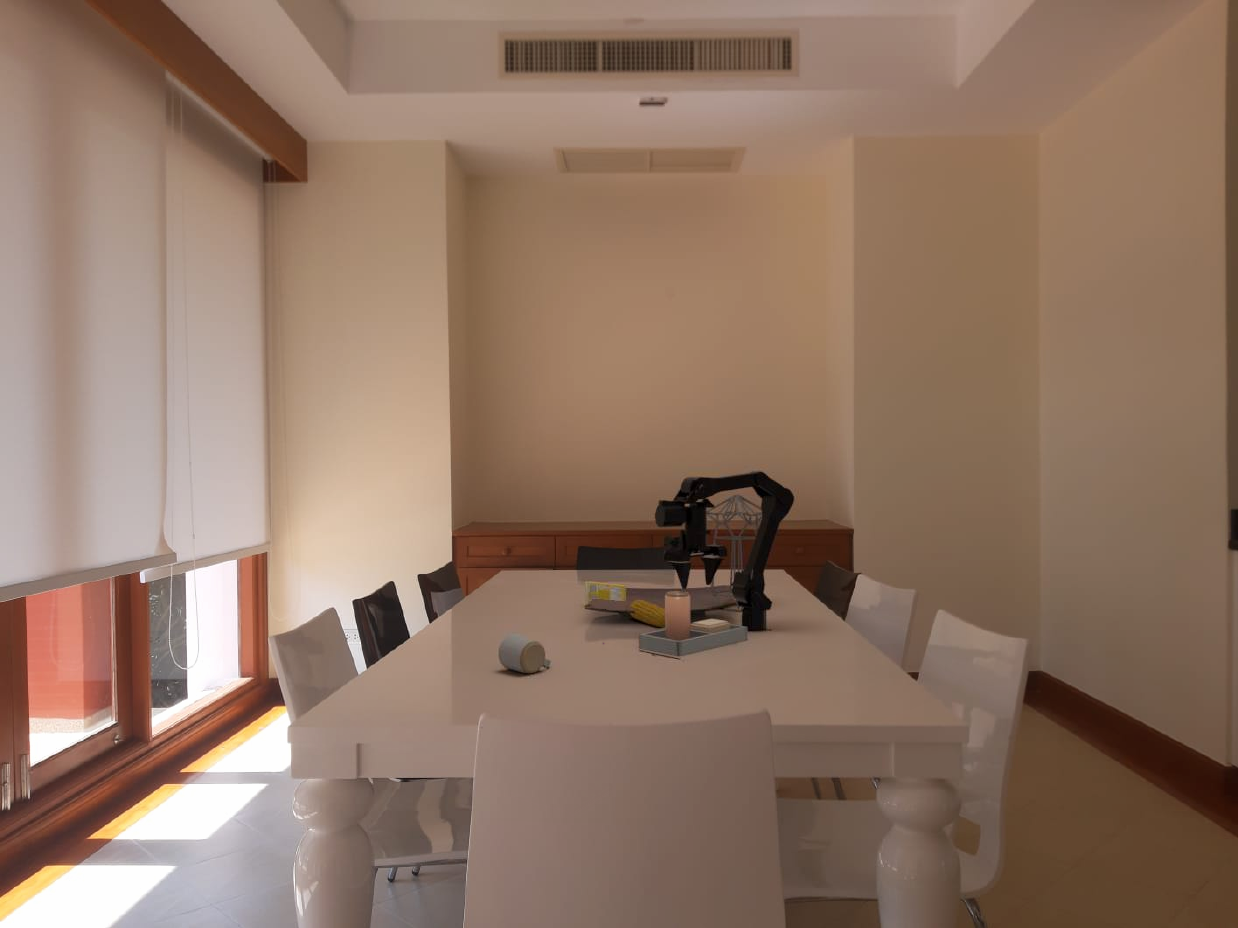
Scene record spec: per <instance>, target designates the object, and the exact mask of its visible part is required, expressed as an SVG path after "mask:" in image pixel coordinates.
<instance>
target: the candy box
mask: <svg viewBox="0 0 1238 928" xmlns="http://www.w3.org/2000/svg"><path fill="white" fill-rule="evenodd" d="M584 584H585V585H584V593H585V594H584V606H585V605H586V604H588V603H589V602H591V601H592V599H604V600H615V601H626V602H627V595H626V594H627V585H626V584H625V585H624V584H616V583H605V582H599V581H598V582H597V581H590V580H589V581H585V583H584Z"/></svg>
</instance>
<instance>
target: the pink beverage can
mask: <svg viewBox="0 0 1238 928" xmlns="http://www.w3.org/2000/svg"><path fill="white" fill-rule="evenodd" d="M664 609H665V627H664V629H665V639H671V640H676V641H681V640H686V639H690V624H691V594H689V592H688V591H682V590H675V591H674V590H673V591H672V590H671V591H666V594H665V595H664Z"/></svg>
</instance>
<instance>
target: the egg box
mask: <svg viewBox="0 0 1238 928" xmlns="http://www.w3.org/2000/svg"><path fill="white" fill-rule="evenodd" d="M692 623H693V624H692ZM692 623H690V624H691V625H690V630H696V631H702V632H708V633H717V632H722V631H726V630H730V624H731V622H728V621H727V620H722V619H717V618H707V619H703V620H699V621H694V622H693V621H692Z"/></svg>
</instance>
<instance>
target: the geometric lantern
mask: <svg viewBox="0 0 1238 928" xmlns="http://www.w3.org/2000/svg"><path fill="white" fill-rule="evenodd" d="M734 502H735V503H734ZM739 503H740V507H741V511H739ZM747 503H748V504H747ZM723 504H724V505H723ZM721 505H723V506H722V507H721V509H720V510H719V511H718V512H713V511H712V510H714V509H716V508H718V507H720V506H721ZM734 505H735V506H734ZM749 505H751V506H754V507H755V508H757V509H758V510H760V511H759V512H756V511H754V510H753V509H752V508H751V507H750V506H749ZM733 506H734V511H732V510H733ZM730 507H731V508H730ZM725 508H726V509H725ZM729 509H730V510H729ZM723 510H725V511H724V512H722V511H723ZM749 510H750V512H751V513H750V512H749ZM713 515H714V516H716V518H715V517H714V516H713ZM707 516H708V517H709V518H710V519H711V520H712V521H713V522H714V523H716V526H715V530H714V533H713V537H712V538H713V543H712V545H717V539H718V540H731V557H730V576H729V577H730V578H729V579H730V580H729V589H725V590H724V589H723V590H717V591H714V590H715V589H714V587H715V585H714V584H715V577H714V578H713V580H712V582H711V584H710V594H711V595H712V596H713V597H714V596H715V597H718V596H723V597H729V598H730V597H731V598H732V597H733V594H732V595H731V593H732V587H733V586H731V584H732V583H733V578H734V577H735V573H736V541H737V572H742V571H743V570H744V569H743V568H744V567H743V548H742V541H743V540H744V541H745V540H746V541H747V540H755V538H756V535H757V532H758V529H759V522H761V520H762V510H761V506H759V505H758V504H755V503H754V502H752V501H751V500H749V499H748V498H746V497H744V496H742V495H740V494H733V495H732V496H731V497H729V498H727V499H725V500H724V501H721V502H720V503H718V504H716V505H714V508H708V509H707ZM719 516H722V521H720V520H719ZM725 516H726V517H725ZM736 516H738V517H740V518H741V519H742V520H743V521H745V522H746V523H745V524H744V526H743V527H742V529H741V531H740V532H739V534H738V535H735V534H734V533H733V531H732V530H731V527H729V525H728V523H729V521H730V520H732V519H734V517H736ZM747 516H748V517H749V518H748V517H747ZM758 516H759V517H758ZM752 517H755V520H754V521H752ZM719 525H724V526H725V528H726V529H727V531H728V533H730V535H728V536H718V528H719ZM748 525H749V526H752V527H753V530H754V533H755V536H744V535H743V533H744V532H745V530H746V528H747V527H748ZM755 527H756V528H755ZM742 535H743V536H742ZM726 592H729V593H730V594H727V593H726ZM715 597H714V598H715ZM733 598H734V597H733ZM736 604H737V606H736V607H737V609H732V608H727V607H724V608H725V609H724V610H726V611H732V612H733V611H734V612H742V609H743V608H744V607H739V606H738V603H737V600H736ZM740 608H741V609H740Z"/></svg>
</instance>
